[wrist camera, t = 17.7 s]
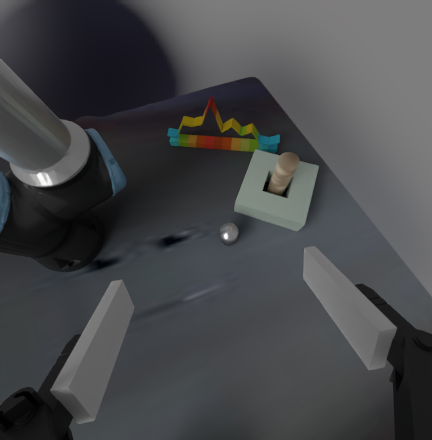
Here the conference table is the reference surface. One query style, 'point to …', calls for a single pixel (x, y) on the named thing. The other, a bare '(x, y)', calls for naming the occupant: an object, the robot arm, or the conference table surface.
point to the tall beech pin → (283, 173)
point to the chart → (223, 142)
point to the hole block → (273, 204)
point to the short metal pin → (229, 234)
